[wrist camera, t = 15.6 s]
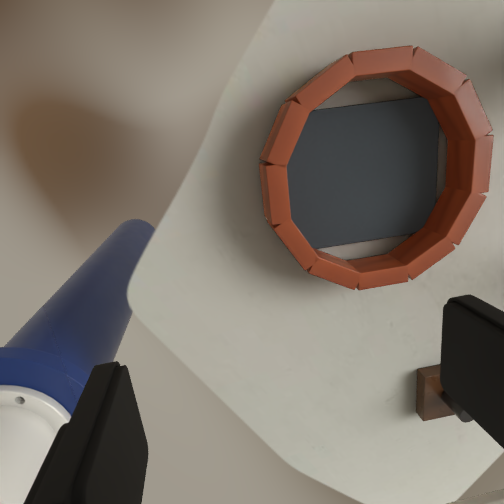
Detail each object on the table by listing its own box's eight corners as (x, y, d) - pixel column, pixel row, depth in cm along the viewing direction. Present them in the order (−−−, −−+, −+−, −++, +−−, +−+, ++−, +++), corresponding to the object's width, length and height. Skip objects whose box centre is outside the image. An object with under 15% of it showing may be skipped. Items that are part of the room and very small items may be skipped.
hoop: (272, 288, 33) (280, 304, 30) (248, 71, 28) (254, 62, 24) (456, 257, 35) (481, 269, 32) (470, 46, 29) (503, 35, 26)
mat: (290, 251, 33) (292, 252, 33) (278, 114, 29) (279, 114, 29) (431, 229, 34) (434, 230, 34) (437, 95, 31) (440, 94, 30)
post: (415, 411, 41) (440, 443, 37) (417, 368, 39) (443, 396, 35) (463, 401, 42) (493, 431, 38) (467, 359, 40) (498, 385, 36)
